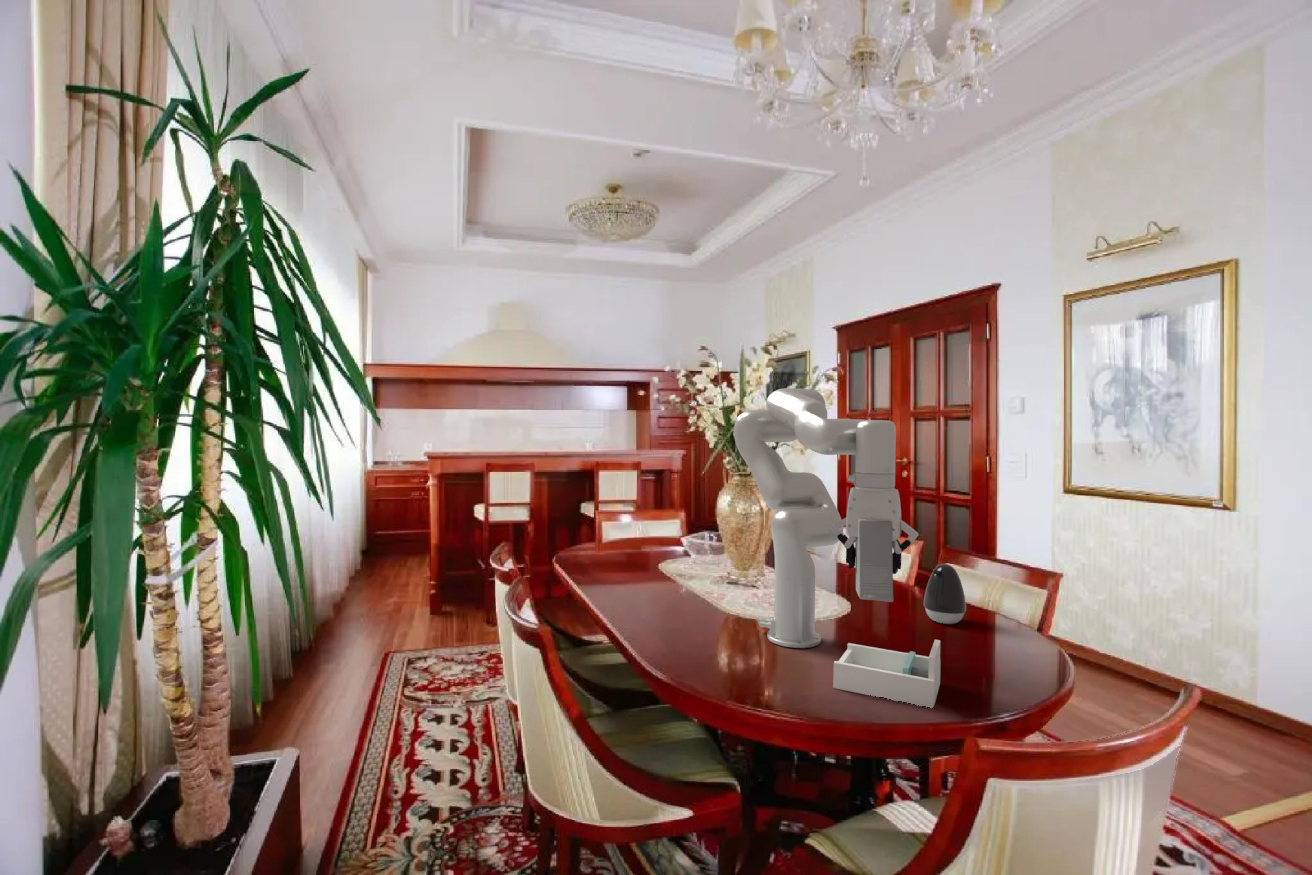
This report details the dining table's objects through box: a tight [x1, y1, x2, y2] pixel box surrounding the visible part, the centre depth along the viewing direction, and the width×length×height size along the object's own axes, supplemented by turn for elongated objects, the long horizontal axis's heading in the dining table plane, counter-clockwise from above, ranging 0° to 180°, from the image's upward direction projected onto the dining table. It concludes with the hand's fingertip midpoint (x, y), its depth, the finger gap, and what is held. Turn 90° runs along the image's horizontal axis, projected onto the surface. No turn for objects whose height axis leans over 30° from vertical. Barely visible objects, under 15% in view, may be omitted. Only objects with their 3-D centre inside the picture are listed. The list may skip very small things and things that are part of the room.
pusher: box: [903, 650, 929, 678], centre depth 122 cm, size 4×10×5 cm, turn 151°
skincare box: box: [854, 519, 894, 603], centre depth 126 cm, size 8×7×16 cm
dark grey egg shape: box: [923, 563, 967, 625], centre depth 167 cm, size 10×10×15 cm
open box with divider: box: [832, 639, 941, 709], centre depth 125 cm, size 18×13×9 cm
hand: (873, 569), depth 126 cm, fingers closed on skincare box, 7 cm apart
